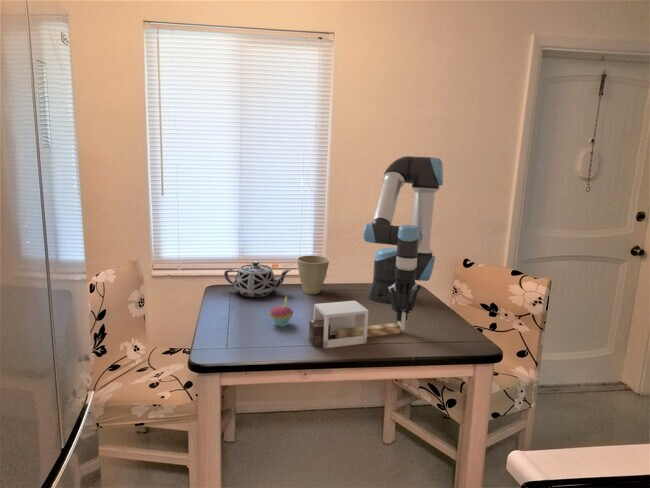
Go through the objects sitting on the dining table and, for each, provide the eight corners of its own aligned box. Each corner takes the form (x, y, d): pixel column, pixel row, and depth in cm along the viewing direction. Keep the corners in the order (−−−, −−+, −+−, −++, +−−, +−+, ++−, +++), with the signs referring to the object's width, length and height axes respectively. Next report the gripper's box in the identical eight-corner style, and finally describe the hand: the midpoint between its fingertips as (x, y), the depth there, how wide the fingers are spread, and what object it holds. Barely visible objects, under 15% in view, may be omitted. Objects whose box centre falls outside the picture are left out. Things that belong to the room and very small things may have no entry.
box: (329, 345, 156) (330, 325, 155) (312, 347, 155) (313, 326, 153) (324, 338, 162) (325, 319, 161) (308, 339, 160) (309, 320, 159)
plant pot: (289, 292, 212) (290, 259, 209) (308, 285, 224) (309, 253, 221) (315, 299, 204) (316, 264, 201) (333, 291, 216) (335, 259, 213)
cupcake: (295, 322, 176) (296, 292, 173) (286, 330, 168) (287, 299, 166) (275, 318, 179) (276, 289, 176) (265, 326, 171) (266, 295, 168)
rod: (395, 330, 173) (395, 322, 172) (399, 333, 170) (400, 325, 170) (334, 337, 164) (335, 329, 163) (338, 340, 161) (338, 332, 160)
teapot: (288, 301, 199) (289, 268, 196) (218, 298, 200) (218, 265, 197) (292, 289, 218) (293, 258, 215) (229, 285, 218) (229, 255, 215)
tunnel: (353, 331, 170) (355, 300, 167) (366, 343, 160) (368, 310, 157) (312, 335, 164) (314, 304, 161) (323, 348, 154) (325, 314, 151)
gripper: (415, 264, 172) (410, 323, 176) (385, 266, 167) (380, 326, 172) (426, 269, 165) (421, 330, 170) (395, 271, 160) (390, 334, 165)
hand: (400, 328), depth 171 cm, fingers closed
